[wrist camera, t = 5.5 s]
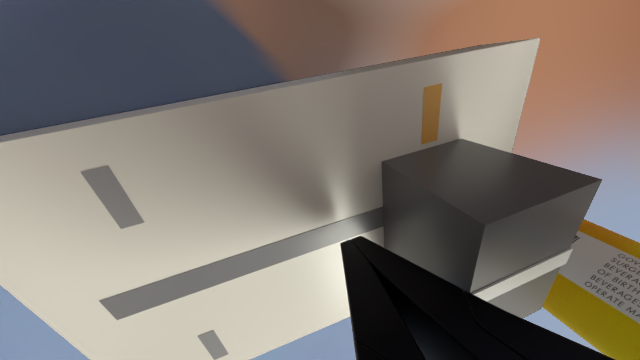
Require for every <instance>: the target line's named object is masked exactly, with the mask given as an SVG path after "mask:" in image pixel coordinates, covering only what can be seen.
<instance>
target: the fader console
mask: <svg viewBox="0 0 640 360" xmlns="http://www.w3.org/2000/svg"><path fill="white" fill-rule="evenodd" d="M539 42H540V38H536V39H527V40H519V41H510V42H503V43H494V44H485V45H478V46H473V47H467V48H462V49H457V50H452V51H446V52H441V53H436V54H430V55H425V56H420V57H415V58H409V59H404V60H399V61H393V62H388V63H383V64H378V65H372V66H367V67H362V68H357V69H351V70H346V71H341V72H336V73H330V74H325V75H319V76H315V77H309V78H303V79H298V80H293V81H288V82H282V83H277V84H272V85H266V86H261V87H256V88H251V89H245V90H240V91H235V92H229V93H224V94H219V95H214V96H208V97H203V98H198V99H192V100H187V101H182V102H177V103H171V104H166V105H161V106H155V107H150V108H145V109H140V110H134V111H129V112H124V113H118V114H113V115H108V116H103V117H97V118H92V119H87V120H81V121H76V122H71V123H65V124H60V125H55V126H50V127H44V128H39V129H34V130H28V131H23V132H18V133H13V134H7V135H2V136H0V285H1V286H2V287H3V288H5V289H6V290H7V291H8V292H9V293H11V294H12V295H13V296H14V297H15V298H17V299H18V300H19V301H20V302H21V303H23V304H24V305H25V306H26V307H27V308H29V309H30V310H31V311H32V312H33V313H35V314H36V315H37V316H38V317H39V318H41V319H42V320H43V321H44V322H45V323H47V324H48V325H49V326H50V327H51V328H53V329H54V330H55V331H56V332H57V333H59V334H60V335H61V336H62V337H63V338H65V339H66V340H67V341H68V342H69V343H71V344H72V345H73V346H74V347H75V348H77V349H78V350H79V351H80V352H81V353H83V354H84V355H85V356H86V357H87V358H89V359H90V360H250V359H252V358H254V357H257V356H259V355H261V354H264V353H266V352H268V351H271V350H273V349H275V348H278V347H280V346H282V345H285V344H287V343H289V342H292V341H294V340H296V339H299V338H301V337H303V336H306V335H308V334H310V333H313V332H315V331H317V330H320V329H322V328H324V327H327V326H329V325H331V324H334V323H336V322H338V321H340V320H343V319H345V318H347V317H350V310H349V303H348V296H347V289H346V281H345V274H344V267H343V260H342V253H341V246H340V244H341V243H342V242H344V241H347V240H351V239H353V238H355V237H358V236H363V237H365V238H367V239H369V240H371V241H372V242H374V243H376V244H378V245H380V246H382V247H384V223H383V192H382V161H385V160H388V159H392V158H395V157H399V156H402V155H406V154H409V153H412V152H416V151H419V150H423V149H426V148H430V147H433V146H437V145H440V144H444V143H447V142H451V141H454V140H458V139H465V140H468V141H472V142H475V143H478V144H482V145H485V146H489V147H492V148H496V149H499V150H502V151H506V152H509V153H512V150H513V145H514V142H515V137H516V133H517V130H518V126H519V121H520V118H521V113H522V110H523V106H524V101H525V97H526V94H527V90H528V86H529V81H530V77H531V74H532V70H533V65H534V62H535V58H536V54H537V50H538V46H539Z"/></svg>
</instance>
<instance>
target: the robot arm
mask: <svg viewBox="0 0 640 360" xmlns="http://www.w3.org/2000/svg"><path fill="white" fill-rule="evenodd" d="M340 246H341V253H342V260H343V267H344V274H345V281H346V289H347V296H348V303H349V310H350V317H351V324H352V331H353V338H354V347H355V354H356V360H616V359H613V358H611V357H609V356H606V355H604V354H601V353H599V352H597V351H595V350H592V349H590V348H588V347H585V346H583V345H581V344H579V343H576V342H574V341H572V340H570V339H567V338H565V337H563V336H561V335H558V334H556V333H554V332H551V331H549V330H547V329H545V328H542V327H540V326H538V325H535V324H533V323H531V322H529V321H527V320H524V319H522V318H520V317H518V316H516V315H514V314H511V313H509V312H507V311H505V310H503V309H501V308H499V307H497V306H495V305H493V304H491V303H489V302H487V301H485V300H483V299H481V298H479V297H477V296H475V295H473V294H471V293H469V292H468V291H463V289H462V288H460V287H458V286H456V285H454V284H452V283H450V282H448V281H446V280H445V279H443V278H441V277H439V276H437V275H435V274H433V273H431V272H429V271H427V270H426V269H424V268H422V267H420V266H418V265H416V264H414V263H412V262H410V261H408V260H407V259H405V258H403V257H401V256H399V255H397V254H395V253H393V252H391V251H390V250H388V249H386V248H384V247H382V246H380V245H378V244H376V243H374V242H372V241H371V240H369V239H367V238H365V237H363V236H358V237H355V238H353V239H351V240H347V241H344V242H342V243H341V244H340Z"/></svg>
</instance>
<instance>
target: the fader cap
mask: <svg viewBox="0 0 640 360" xmlns="http://www.w3.org/2000/svg"><path fill="white" fill-rule="evenodd" d="M601 181H602V179H598V178H595V177H591V176H588V175H585V174H581V173H578V172H574V171H571V170H568V169H564V168H561V167H557V166H554V165H550V164H547V163H544V162H540V161H537V160H533V159H529V158H526V157H523V156H520V155H516V154H513V153H509V152H506V151H502V150H499V149H496V148H492V147H489V146H485V145H482V144H478V143H475V142H472V141H468V140H465V139H458V140H454V141H451V142H447V143H444V144H440V145H437V146H433V147H430V148H426V149H423V150H419V151H416V152H412V153H409V154H406V155H402V156H399V157H395V158H392V159H388V160H385V161H382V192H383V223H384V248H386V249H388V250H390V251H391V252H393V253H395V254H397V255H399V256H401V257H403V258H405V259H407V260H408V261H410V262H412V263H414V264H416V265H418V266H420V267H422V268H424V269H426V270H427V271H429V272H431V273H433V274H435V275H437V276H439V277H441V278H443V279H445V280H446V281H448V282H450V283H452V284H454V285H456V286H458V287H460V288H462V289H463V291H468V292H469V293H471V294H473V295H475V296H477V297H479V298H481V299H483V300H485V301H487V302H489V303H491V304H493V305H495V306H497V307H499V308H501V309H503V310H505V311H507V312H509V313H511V314H514V315H516V316H518V317H520V318H522V319H523V318H525V317H526V316H528V315H530V314H532V313H534V312H536V311H538V310H540V309H541V308H542V306H543V303H544V301H545V299H546V297H547V295H548V293H549V291H550V289H551V287H552V284H553V282H554V280H555V278H556V276H557V274H558V272H559V270H560V268H561V266H562V265H564V264H566V263H567V261H568V258H569V256H570V254H571V252H572V250H573V248H571V247H570V246H571V244H572V242H573V240H574V238H575V236H576V234H577V232H578V230H579V227H580V225H581V223H582V221H583V219H584V217H585V215H586V213H587V211H588V209H589V206H590V204H591V202H592V200H593V198H594V196H595V194H596V192H597V190H598V187H599V185H600V183H601Z"/></svg>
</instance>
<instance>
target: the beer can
mask: <svg viewBox="0 0 640 360" xmlns="http://www.w3.org/2000/svg"><path fill="white" fill-rule="evenodd" d="M570 247H571V248H573V250H572V252H571V254H570V256H569V258H568V261H567V263H566V264H564V265H562V266H561V268H560V270H559V272H558V274H557V276H556V278H555V280H554V282H553V284H552V287H551V289H550V291H549V293H548V295H547V297H546V299H545V301H544V303H543V306H542V307H543V308H544V309H546V310H547V311H548V312H550V313H551V314H552V315H553V316H555V317H556V318H557V319H559V320H560V321H561V322H563V323H564V324H565V325H566V326H568V327H569V328H570V329H572V330H573V331H574V332H576V333H577V334H578V335H579V336H581V337H582V338H583V339H585V340H586V341H587V342H589V343H590V344H591V345H592V346H594V347H595V348H596V349H598V350H599V351H600V352H601V353H603V354H604V355H606V356H609V357H611V358H613V359H616V360H640V243H638V242H636V241H634V240H631V239H629V238H627V237H624V236H622V235H619V234H617V233H615V232H613V231H610V230H608V229H605V228H603V227H601V226H598V225H596V224H594V223H591V222H589V221H587V220H584V219H583V221H582V223H581V225H580V227H579V230H578V232H577V234H576V236H575V238H574V240H573V242H572V244H571V246H570Z"/></svg>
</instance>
